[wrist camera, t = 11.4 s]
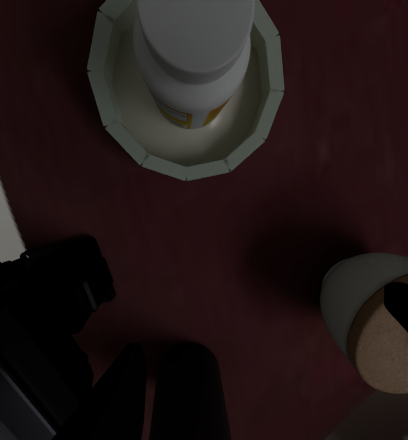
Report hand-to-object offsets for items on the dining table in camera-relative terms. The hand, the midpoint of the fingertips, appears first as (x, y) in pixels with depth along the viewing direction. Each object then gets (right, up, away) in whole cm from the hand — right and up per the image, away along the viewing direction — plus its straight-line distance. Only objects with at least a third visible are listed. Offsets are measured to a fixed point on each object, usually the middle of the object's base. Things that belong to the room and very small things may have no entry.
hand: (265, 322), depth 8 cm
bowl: (-3, +14, +9) cm, 17 cm away
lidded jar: (+13, -3, +16) cm, 21 cm away
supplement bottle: (-3, +13, +9) cm, 16 cm away
